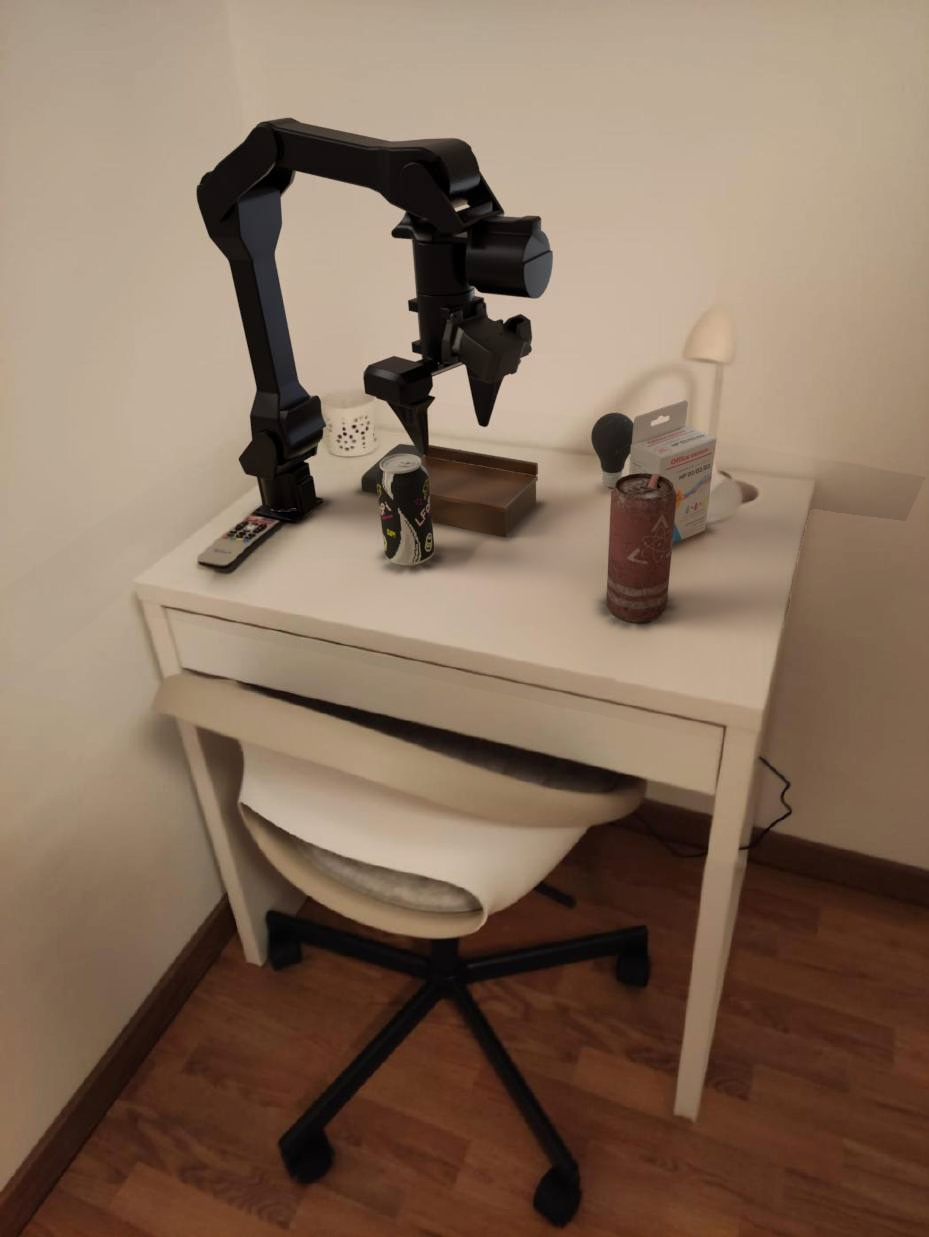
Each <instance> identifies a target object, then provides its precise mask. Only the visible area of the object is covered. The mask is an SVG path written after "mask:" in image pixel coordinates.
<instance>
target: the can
mask: <svg viewBox="0 0 929 1237" xmlns="http://www.w3.org/2000/svg"><path fill="white" fill-rule="evenodd" d="M676 500H677V495H676V491H675V489H674V486H673V483H672V482H671V481H670V480H669V479H667V478H665V477H663V476H660V474H648V473H637V474H630V475H629V474H627V475H624V476H622V478H620V479H619V480H617V482H616V483H615V487H614V488H613V489H611V491H610V508H609V510H610V512H609V531H608V532H609V533H608V554H607V575H606V576H607V577H606V596H605V598H606V599H605V600H606V601H605V604H606V607H607V609H608V610H609V612H610V613H611V615H612V616H614V617H615V618H617V619H618V620H621V621H623V622H627V623H631V624H644V623H648V622H649V623H650V622H652V621H654V620H657V619H658V618H659V617H661V616H662V614H664V613H665V611H666V608H667V606H668V596H669V588H670V587H669V586H670V577H671V576H670V574H671V566H672V565H671V564H672V553H673V544H674V543H673V532H674V522H675V511H676Z"/></svg>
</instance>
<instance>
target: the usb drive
mask: <svg viewBox="0 0 929 1237" xmlns="http://www.w3.org/2000/svg"><path fill="white" fill-rule="evenodd" d="M396 454H412V455H416V456H418V457H419V458H420V459H421V458H422V457H423V456H425V455H423V454H420V453H419V452H418V451H417V449H416V447H415V445H414V444H413V443H412V442H410V443H409V442H406V443H398V444H397V445H395V446H394V447H393V448H391V449H390V450H388V452H386V453H385V455H383V456H382V457H381V458H380V459H379V460H378V461H377V462H375V463H374V464H373V465H372V466H371V467H370V468H369V469H367V470H366V471H365V472H364V474H362V476H361V481H360V483H361V492H363V493H372V494H378V493H377V485H376V475H377V473H378V471H379V469H380V462H381V461H382V460H383V459H384V458H386V457H388V456H391V455H396Z"/></svg>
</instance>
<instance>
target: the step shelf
mask: <svg viewBox="0 0 929 1237" xmlns="http://www.w3.org/2000/svg"><path fill="white" fill-rule="evenodd" d="M421 464H422V465H423V466H424V467H425V468H426V470H427V472H428V479H429V490H430V502H431V514H432V523H436V524H441V525H445V526H451V527H455V528H460V529H464V530H469V531H474V532H479V533H483V534H488V535H492V536H498V537H502V538H506V537H507V536H508V535H509V534H510V533H511V531H513V530H514V529H515V528H516V527H517V525H519V523H520V522H521V521H522V520H523V519H524V518H525V517H526V516H527V515H528V514H529V513H530V512H531V511H532V510H533V509H534V508H535V507H536V506H537V482H538V480H539V476H538V474H539V464H538V462H535V461H530V460H529V461H528V460H522V459H516V458H510V457H505V456H498V455H492V454H486V453H481V452H475V451H469V450H464V449H463V450H462V449H458V448H457V449H456V448H451V447H445V446H439V445H434V444H429V449H428V454H427V455H425V456H423V457H422V458H421Z"/></svg>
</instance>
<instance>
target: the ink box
mask: <svg viewBox="0 0 929 1237" xmlns="http://www.w3.org/2000/svg"><path fill="white" fill-rule="evenodd" d="M688 404H689V402H688V400H687V399H684V400H682V401H678V402H676V403H673V404H669V405H665V406H663V407H660V408H659V407H658V408H657V409H654V410H651V411H648V412H645V413H642V414H639V415H636V416H635V417H634V419H633V423H634V425H633V435H632V444H631V451H630V455H629V468H628V475H630V474H637V473H648V474H660V476H663V477H665V478H667V479H669V480H670V481H671V482H672V483H673V486H674V489H675V491H676V495H677V500H676V511H675V522H674V532H673V543H672V544H675V543H678V542H680V541H682V540H685V539H687V538H690V537H692V536H695V535H698V534H700V533H702V532H704V531H705V530H706V525H707V518H708V508H709V501H710V492H711V484H712V478H713V477H712V476H713V470H714V468H713V467H714V459H715V453H716V445H717V437H714V436H712V435H710V434H707V433H704V432H702V431H700V430H697V429H695V428H693V427H690V426H688V425H687V424H686V422H687V416H688V415H687V414H688V407H689V406H688ZM660 417H663V418H665V417H669V418H668V420H665V421H662V422H659V423H657V424H654V425H652V423H653V422H654V421H657V420H658V419H659V418H660Z"/></svg>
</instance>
